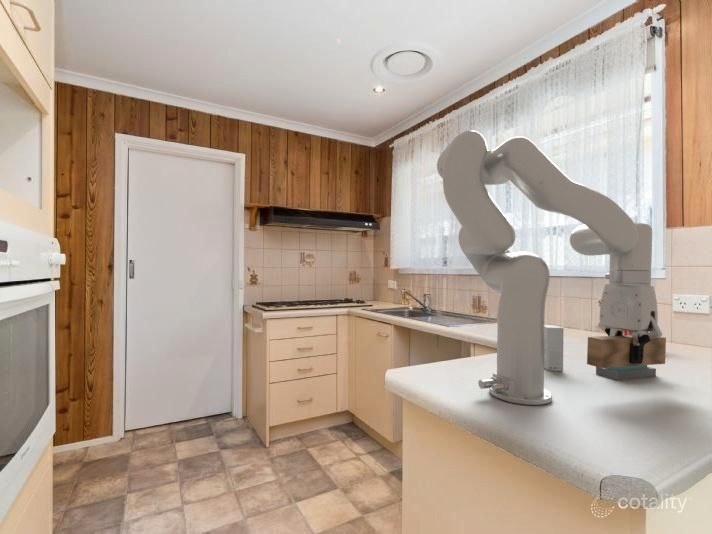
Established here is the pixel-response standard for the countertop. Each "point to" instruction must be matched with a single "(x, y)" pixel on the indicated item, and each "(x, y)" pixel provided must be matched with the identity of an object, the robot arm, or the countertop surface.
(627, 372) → the teal box with base
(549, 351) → the skincare box
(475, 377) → the countertop surface
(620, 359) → the walnut beam
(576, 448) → the countertop surface
